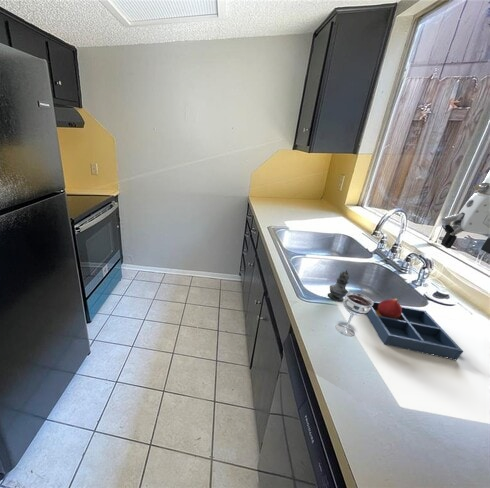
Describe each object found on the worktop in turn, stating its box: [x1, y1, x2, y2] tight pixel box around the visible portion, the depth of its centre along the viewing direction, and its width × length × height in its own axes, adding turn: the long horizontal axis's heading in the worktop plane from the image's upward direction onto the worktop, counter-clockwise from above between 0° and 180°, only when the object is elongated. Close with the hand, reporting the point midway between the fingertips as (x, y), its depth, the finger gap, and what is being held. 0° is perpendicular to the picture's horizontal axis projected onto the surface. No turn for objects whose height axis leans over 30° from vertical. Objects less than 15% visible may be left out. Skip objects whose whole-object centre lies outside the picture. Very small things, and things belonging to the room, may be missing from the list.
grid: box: [365, 300, 464, 361], centre depth 80 cm, size 17×17×4 cm
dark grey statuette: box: [327, 269, 351, 303], centre depth 92 cm, size 6×6×12 cm
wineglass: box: [335, 291, 374, 337], centre depth 77 cm, size 7×7×12 cm
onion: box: [378, 298, 402, 319], centre depth 83 cm, size 6×6×8 cm
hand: (465, 249), depth 76 cm, fingers open, 9 cm apart
